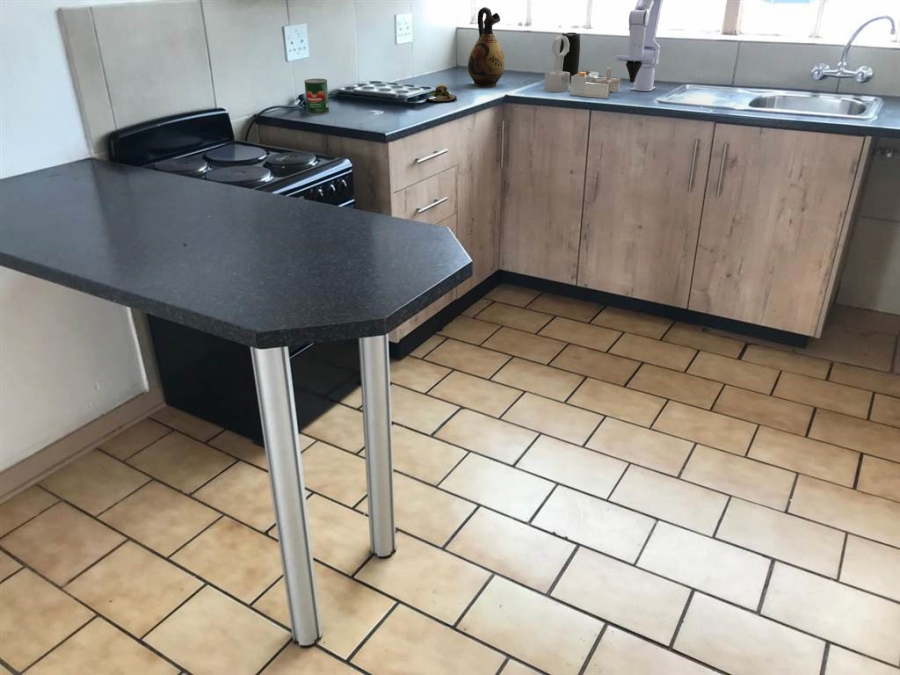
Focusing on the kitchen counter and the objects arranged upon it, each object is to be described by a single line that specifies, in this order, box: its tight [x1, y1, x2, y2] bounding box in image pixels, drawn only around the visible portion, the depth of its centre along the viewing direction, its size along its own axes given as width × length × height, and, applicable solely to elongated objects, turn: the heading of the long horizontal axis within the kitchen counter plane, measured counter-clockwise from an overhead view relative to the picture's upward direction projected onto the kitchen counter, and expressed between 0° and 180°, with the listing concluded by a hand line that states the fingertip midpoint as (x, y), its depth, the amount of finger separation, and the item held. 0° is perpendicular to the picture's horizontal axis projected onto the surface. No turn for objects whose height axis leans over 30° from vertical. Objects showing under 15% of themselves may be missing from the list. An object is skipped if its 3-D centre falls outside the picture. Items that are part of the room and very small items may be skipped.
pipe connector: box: [595, 67, 622, 96], centre depth 290 cm, size 10×10×10 cm
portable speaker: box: [559, 32, 581, 81], centre depth 319 cm, size 8×9×19 cm
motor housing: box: [569, 68, 621, 99], centre depth 294 cm, size 16×15×8 cm
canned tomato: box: [303, 78, 330, 116], centre depth 263 cm, size 8×8×11 cm
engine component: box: [543, 34, 571, 93], centre depth 299 cm, size 11×20×10 cm
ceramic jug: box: [467, 6, 506, 88], centre depth 307 cm, size 17×15×30 cm
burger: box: [427, 83, 458, 102], centre depth 283 cm, size 12×12×8 cm
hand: (632, 81), depth 287 cm, fingers closed
